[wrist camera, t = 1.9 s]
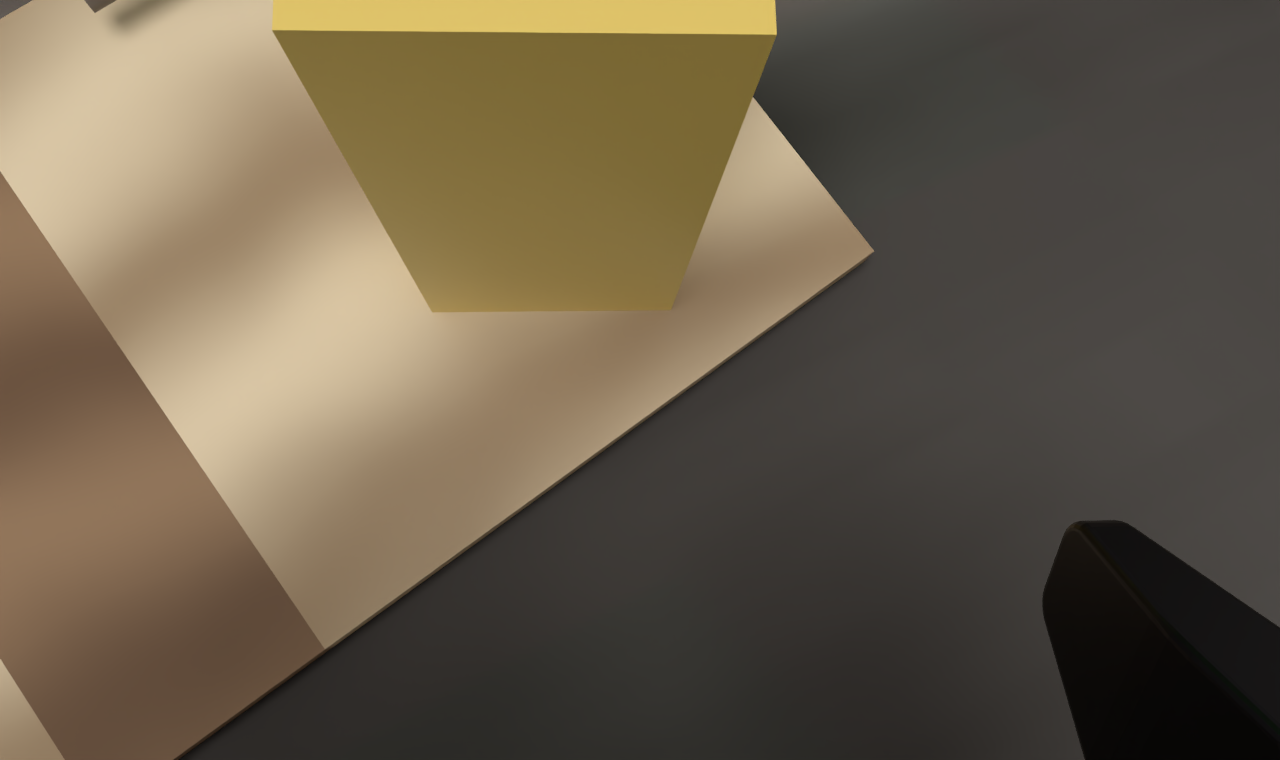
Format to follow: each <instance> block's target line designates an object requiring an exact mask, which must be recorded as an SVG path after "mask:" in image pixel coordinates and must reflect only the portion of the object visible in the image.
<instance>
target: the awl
mask: <svg viewBox="0 0 1280 760" xmlns="http://www.w3.org/2000/svg"><path fill="white" fill-rule="evenodd" d="M84 1H85V2H86V3H87V4H88V6H89V7H90V8H91V9H92V10H93V12H94V13H96V12H98V11H99V10H101V9H103V8H104V7H106V6H108V5H110V4H111V3H113V2H115V1H116V0H84Z"/></svg>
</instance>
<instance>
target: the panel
mask: <svg viewBox="0 0 1280 760" xmlns="http://www.w3.org/2000/svg"><path fill="white" fill-rule="evenodd" d="M272 17H273V0H116V1H115V2H113V3H111V4H110V5H108V6H106V7H104V8H103V9H101V10H99V11H98V12H96V13H94V12H93V10H92V9H91V8H90V7H89V6H88V4H87V3H86V2H85V1H84V0H32V1H31V2H29V3H27V4H26V5H24V6H22V7H20V8H19V9H17V10H15V11H13V12H12V13H10V14H8V15H7V16H5V17H3V18H1V19H0V760H178V759H180V758H181V757H182V756H184V755H185V754H187V753H188V752H189V751H191V750H192V749H193V748H195V747H196V746H198V745H199V744H200V743H202V742H203V741H204V740H206V739H207V738H209V737H210V736H211V735H213V734H214V733H215V732H217V731H218V730H220V729H221V728H222V727H224V726H225V725H226V724H228V723H229V722H231V721H232V720H233V719H235V718H236V717H238V716H239V715H240V714H242V713H243V712H244V711H246V710H247V709H249V708H250V707H251V706H253V705H254V704H255V703H257V702H258V701H260V700H261V699H262V698H264V697H265V696H266V695H268V694H269V693H271V692H272V691H273V690H275V689H276V688H277V687H279V686H280V685H282V684H283V683H284V682H286V681H287V680H288V679H290V678H291V677H293V676H294V675H295V674H297V673H298V672H299V671H301V670H302V669H304V668H305V667H306V666H308V665H309V664H311V663H312V662H313V661H315V660H316V659H317V658H319V657H320V656H322V655H323V654H324V653H326V652H327V651H328V650H330V649H331V648H333V647H334V646H335V645H337V644H338V643H339V642H341V641H342V640H344V639H345V638H346V637H348V636H349V635H350V634H352V633H353V632H355V631H356V630H357V629H359V628H360V627H361V626H363V625H364V624H366V623H367V622H368V621H370V620H371V619H372V618H374V617H375V616H377V615H378V614H379V613H381V612H382V611H384V610H385V609H386V608H388V607H389V606H390V605H392V604H393V603H395V602H396V601H397V600H399V599H400V598H401V597H403V596H404V595H406V594H407V593H408V592H410V591H411V590H412V589H414V588H415V587H417V586H418V585H419V584H421V583H422V582H423V581H425V580H426V579H428V578H429V577H430V576H432V575H433V574H434V573H436V572H437V571H439V570H440V569H441V568H443V567H444V566H446V565H447V564H448V563H450V562H451V561H452V560H454V559H455V558H457V557H458V556H459V555H461V554H462V553H463V552H465V551H466V550H468V549H469V548H470V547H472V546H473V545H474V544H476V543H477V542H479V541H480V540H481V539H483V538H484V537H485V536H487V535H488V534H490V533H491V532H492V531H494V530H495V529H496V528H498V527H499V526H501V525H502V524H503V523H505V522H506V521H507V520H509V519H510V518H512V517H513V516H514V515H516V514H517V513H519V512H520V511H521V510H523V509H524V508H525V507H527V506H528V505H530V504H531V503H532V502H534V501H535V500H536V499H538V498H539V497H541V496H542V495H543V494H545V493H546V492H547V491H549V490H550V489H552V488H553V487H554V486H556V485H557V484H558V483H560V482H561V481H563V480H564V479H565V478H567V477H568V476H569V475H571V474H572V473H574V472H575V471H576V470H578V469H579V468H581V467H582V466H583V465H585V464H586V463H587V462H589V461H590V460H592V459H593V458H594V457H596V456H597V455H598V454H600V453H601V452H603V451H604V450H605V449H607V448H608V447H609V446H611V445H612V444H614V443H615V442H616V441H618V440H619V439H620V438H622V437H623V436H625V435H626V434H627V433H629V432H630V431H631V430H633V429H634V428H636V427H637V426H638V425H640V424H641V423H642V422H644V421H645V420H647V419H648V418H649V417H651V416H652V415H654V414H655V413H656V412H658V411H659V410H660V409H662V408H663V407H665V406H666V405H667V404H669V403H670V402H671V401H673V400H674V399H676V398H677V397H678V396H680V395H681V394H682V393H684V392H685V391H687V390H688V389H689V388H691V387H692V386H693V385H695V384H696V383H698V382H699V381H700V380H702V379H703V378H704V377H706V376H707V375H709V374H710V373H711V372H713V371H714V370H715V369H717V368H718V367H720V366H721V365H722V364H724V363H725V362H727V361H728V360H729V359H731V358H732V357H733V356H735V355H736V354H738V353H739V352H740V351H742V350H743V349H744V348H746V347H747V346H749V345H750V344H751V343H753V342H754V341H755V340H757V339H758V338H760V337H761V336H762V335H764V334H765V333H766V332H768V331H769V330H771V329H772V328H773V327H775V326H776V325H777V324H779V323H780V322H782V321H783V320H784V319H786V318H787V317H789V316H790V315H791V314H793V313H794V312H795V311H797V310H798V309H800V308H801V307H802V306H804V305H805V304H806V303H808V302H809V301H811V300H812V299H813V298H815V297H816V296H817V295H819V294H820V293H822V292H823V291H824V290H826V289H827V288H828V287H830V286H831V285H833V284H834V283H835V282H837V281H838V280H839V279H841V278H842V277H844V276H845V275H846V274H848V273H849V272H850V271H852V270H853V269H855V268H856V267H857V266H859V265H860V264H862V263H863V262H864V261H865V260H866V259H867V258H868V257H869V256H870V255H871V254H872V253H873V252H874V250H873V249H872V248H871V247H870V245H869V244H868V243H867V242H866V240H865V239H864V238H863V236H862V235H861V234H860V233H859V231H858V230H857V229H856V228H855V226H854V225H853V224H852V222H851V221H850V220H849V219H848V217H847V216H846V215H845V214H844V212H843V211H842V210H841V208H840V207H839V206H838V205H837V203H836V202H835V201H834V200H833V198H832V197H831V196H830V194H829V193H828V192H827V191H826V189H825V188H824V187H823V186H822V184H821V183H820V182H819V180H818V179H817V178H816V177H815V175H814V174H813V173H812V172H811V170H810V169H809V168H808V166H807V165H806V164H805V163H804V161H803V160H802V159H801V158H800V156H799V155H798V154H797V152H796V151H795V150H794V149H793V147H792V146H791V145H790V144H789V142H788V141H787V140H786V138H785V137H784V136H783V135H782V133H781V132H780V131H779V130H778V128H777V127H776V126H775V124H774V123H773V122H772V121H771V119H770V118H769V117H768V116H767V114H766V113H765V112H764V110H763V109H762V108H761V107H760V105H759V104H758V103H757V102H756V100H755V99H754V98H752V100H751V103H750V105H749V108H748V111H747V113H746V116H745V119H744V121H743V124H742V126H741V129H740V132H739V134H738V137H737V139H736V142H735V145H734V147H733V150H732V152H731V155H730V158H729V160H728V163H727V165H726V168H725V171H724V173H723V176H722V178H721V181H720V184H719V186H718V189H717V191H716V194H715V197H714V199H713V202H712V204H711V207H710V210H709V212H708V215H707V217H706V220H705V223H704V225H703V228H702V230H701V233H700V236H699V238H698V241H697V243H696V246H695V249H694V251H693V254H692V256H691V259H690V262H689V264H688V267H687V270H686V272H685V275H684V277H683V280H682V283H681V285H680V288H679V290H678V293H677V296H676V298H675V301H674V303H673V306H672V309H671V310H636V311H529V312H432V311H431V310H430V308H429V306H428V304H427V303H426V301H425V299H424V297H423V296H422V294H421V292H420V290H419V288H418V287H417V285H416V283H415V281H414V280H413V278H412V276H411V274H410V273H409V271H408V269H407V267H406V266H405V264H404V262H403V260H402V259H401V257H400V255H399V253H398V251H397V250H396V248H395V246H394V244H393V243H392V241H391V239H390V237H389V236H388V234H387V232H386V230H385V229H384V227H383V225H382V223H381V221H380V220H379V218H378V216H377V214H376V213H375V211H374V209H373V207H372V206H371V204H370V202H369V200H368V199H367V197H366V195H365V193H364V192H363V190H362V188H361V186H360V184H359V183H358V181H357V179H356V177H355V176H354V174H353V172H352V170H351V169H350V167H349V165H348V163H347V162H346V160H345V158H344V156H343V155H342V153H341V151H340V149H339V147H338V146H337V144H336V142H335V140H334V139H333V137H332V135H331V133H330V132H329V130H328V128H327V126H326V125H325V123H324V121H323V119H322V117H321V116H320V114H319V112H318V110H317V109H316V107H315V105H314V103H313V102H312V100H311V98H310V96H309V95H308V93H307V91H306V89H305V88H304V86H303V84H302V82H301V80H300V79H299V77H298V75H297V73H296V72H295V70H294V68H293V66H292V65H291V63H290V61H289V59H288V58H287V56H286V54H285V52H284V50H283V49H282V47H281V45H280V43H279V42H278V40H277V38H276V36H275V35H274V33H273V31H272Z"/></svg>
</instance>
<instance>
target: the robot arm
mask: <svg viewBox="0 0 1280 760" xmlns="http://www.w3.org/2000/svg"><path fill="white" fill-rule="evenodd" d="M1042 602H1043V615H1044V620H1045V624H1046V627H1047V631H1048V634H1049V637H1050V641H1051V644H1052V648H1053V651H1054V655H1055V658H1056V662H1057V665H1058V669H1059V672H1060V675H1061V679H1062V682H1063V686H1064V689H1065V693H1066V696H1067V700H1068V703H1069V706H1070V710H1071V713H1072V717H1073V720H1074V724H1075V727H1076V731H1077V734H1078V738H1079V741H1080V744H1081V748H1082V751H1083V755H1084V758H1085V760H1280V627H1278V626H1277V625H1275V624H1274V623H1272V622H1271V621H1269V620H1268V619H1267V618H1265V617H1264V616H1262V615H1261V614H1259V613H1258V612H1256V611H1255V610H1253V609H1252V608H1251V607H1249V606H1248V605H1246V604H1245V603H1243V602H1242V601H1240V600H1239V599H1237V598H1236V597H1234V596H1233V595H1232V594H1230V593H1229V592H1227V591H1226V590H1224V589H1223V588H1221V587H1220V586H1218V585H1217V584H1216V583H1214V582H1213V581H1211V580H1210V579H1208V578H1207V577H1205V576H1204V575H1202V574H1201V573H1200V572H1198V571H1197V570H1195V569H1194V568H1192V567H1191V566H1189V565H1188V564H1186V563H1185V562H1183V561H1182V560H1181V559H1179V558H1178V557H1176V556H1175V555H1173V554H1172V553H1170V552H1169V551H1167V550H1166V549H1165V548H1163V547H1162V546H1160V545H1159V544H1157V543H1156V542H1154V541H1153V540H1151V539H1150V538H1148V537H1147V536H1146V535H1144V534H1143V533H1141V532H1140V531H1138V530H1137V529H1135V528H1134V527H1132V526H1131V525H1129V524H1127V523H1125V522H1122V521H1116V520H1103V521H1078V522H1075V523H1073V524H1072V525H1070V526H1069V527H1068V528H1067V529H1066V531H1065V533H1064V536H1063V538H1062V541H1061V544H1060V546H1059V549H1058V552H1057V555H1056V557H1055V560H1054V563H1053V566H1052V568H1051V571H1050V574H1049V577H1048V580H1047V582H1046V585H1045V588H1044V592H1043V600H1042Z"/></svg>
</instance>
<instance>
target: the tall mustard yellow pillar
mask: <svg viewBox="0 0 1280 760" xmlns="http://www.w3.org/2000/svg"><path fill="white" fill-rule="evenodd" d="M272 31H273V33H274V35H275V36H276V38H277V40H278V42H279V43H280V45H281V47H282V49H283V50H284V52H285V54H286V56H287V58H288V59H289V61H290V63H291V65H292V66H293V68H294V70H295V72H296V73H297V75H298V77H299V79H300V80H301V82H302V84H303V86H304V88H305V89H306V91H307V93H308V95H309V96H310V98H311V100H312V102H313V103H314V105H315V107H316V109H317V110H318V112H319V114H320V116H321V117H322V119H323V121H324V123H325V125H326V126H327V128H328V130H329V132H330V133H331V135H332V137H333V139H334V140H335V142H336V144H337V146H338V147H339V149H340V151H341V153H342V155H343V156H344V158H345V160H346V162H347V163H348V165H349V167H350V169H351V170H352V172H353V174H354V176H355V177H356V179H357V181H358V183H359V184H360V186H361V188H362V190H363V192H364V193H365V195H366V197H367V199H368V200H369V202H370V204H371V206H372V207H373V209H374V211H375V213H376V214H377V216H378V218H379V220H380V221H381V223H382V225H383V227H384V229H385V230H386V232H387V234H388V236H389V237H390V239H391V241H392V243H393V244H394V246H395V248H396V250H397V251H398V253H399V255H400V257H401V259H402V260H403V262H404V264H405V266H406V267H407V269H408V271H409V273H410V274H411V276H412V278H413V280H414V281H415V283H416V285H417V287H418V288H419V290H420V292H421V294H422V296H423V297H424V299H425V301H426V303H427V304H428V306H429V308H430V310H431V311H432V312H529V311H636V310H671V309H672V306H673V303H674V301H675V298H676V296H677V293H678V290H679V288H680V285H681V283H682V280H683V277H684V275H685V272H686V270H687V267H688V264H689V262H690V259H691V256H692V254H693V251H694V249H695V246H696V243H697V241H698V238H699V236H700V233H701V230H702V228H703V225H704V223H705V220H706V217H707V215H708V212H709V210H710V207H711V204H712V202H713V199H714V197H715V194H716V191H717V189H718V186H719V184H720V181H721V178H722V176H723V173H724V171H725V168H726V165H727V163H728V160H729V158H730V155H731V152H732V150H733V147H734V145H735V142H736V139H737V137H738V134H739V132H740V129H741V126H742V124H743V121H744V119H745V116H746V113H747V111H748V108H749V105H750V103H751V100H752V98H753V95H754V92H755V90H756V87H757V85H758V82H759V79H760V77H761V74H762V72H763V69H764V66H765V64H766V61H767V59H768V56H769V53H770V51H771V48H772V46H773V43H774V40H775V38H776V35H777V30H776V11H775V0H273V17H272Z"/></svg>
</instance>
